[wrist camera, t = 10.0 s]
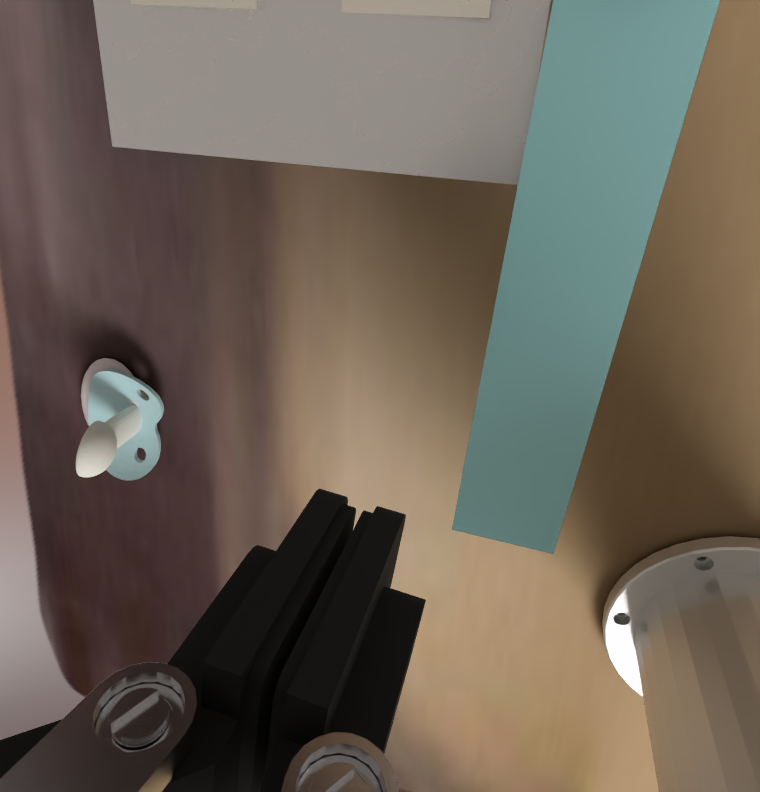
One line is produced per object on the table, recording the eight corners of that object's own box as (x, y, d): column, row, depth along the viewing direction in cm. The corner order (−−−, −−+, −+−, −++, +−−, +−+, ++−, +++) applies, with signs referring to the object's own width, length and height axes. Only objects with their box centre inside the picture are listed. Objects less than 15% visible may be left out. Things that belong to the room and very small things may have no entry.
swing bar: (567, -42, 21) (584, -172, 12) (673, -37, 20) (781, -168, 11) (479, 410, 29) (447, 547, 20) (551, 425, 29) (553, 574, 19)
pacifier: (90, 437, 38) (170, 469, 37) (9, 489, 33) (101, 529, 32) (88, 337, 34) (177, 370, 34) (-1, 377, 29) (101, 417, 28)
